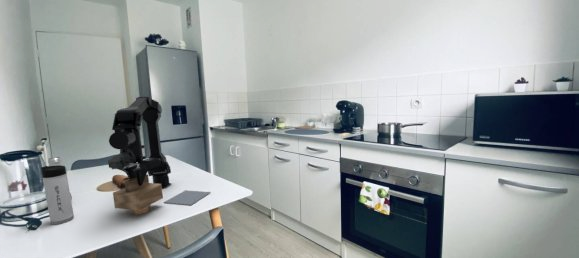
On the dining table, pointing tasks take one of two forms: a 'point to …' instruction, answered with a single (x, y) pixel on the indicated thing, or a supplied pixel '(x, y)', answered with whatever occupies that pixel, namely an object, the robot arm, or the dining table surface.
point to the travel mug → (57, 194)
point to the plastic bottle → (55, 162)
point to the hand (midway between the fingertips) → (137, 185)
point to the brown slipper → (120, 180)
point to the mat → (187, 197)
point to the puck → (141, 210)
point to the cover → (137, 194)
